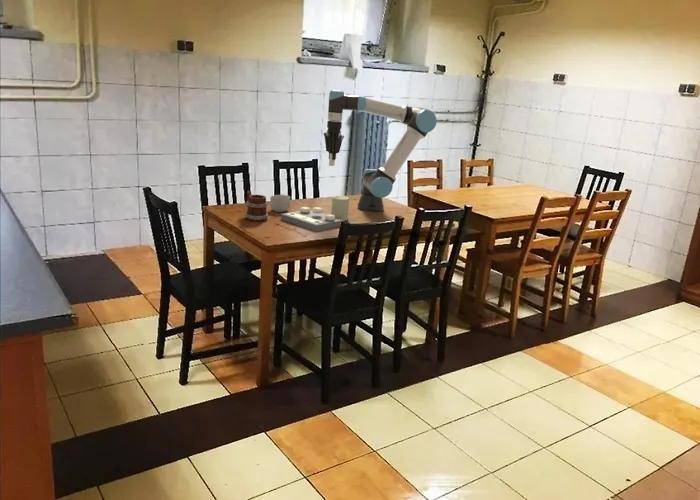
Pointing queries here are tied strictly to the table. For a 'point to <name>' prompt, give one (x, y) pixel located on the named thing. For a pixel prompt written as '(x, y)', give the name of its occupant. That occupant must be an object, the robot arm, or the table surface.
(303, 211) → the button
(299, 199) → the table surface
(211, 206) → the table surface
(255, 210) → the mug
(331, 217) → the button
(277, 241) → the table surface
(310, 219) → the button board
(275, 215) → the table surface
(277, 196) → the teacup
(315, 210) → the button middle
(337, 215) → the can
